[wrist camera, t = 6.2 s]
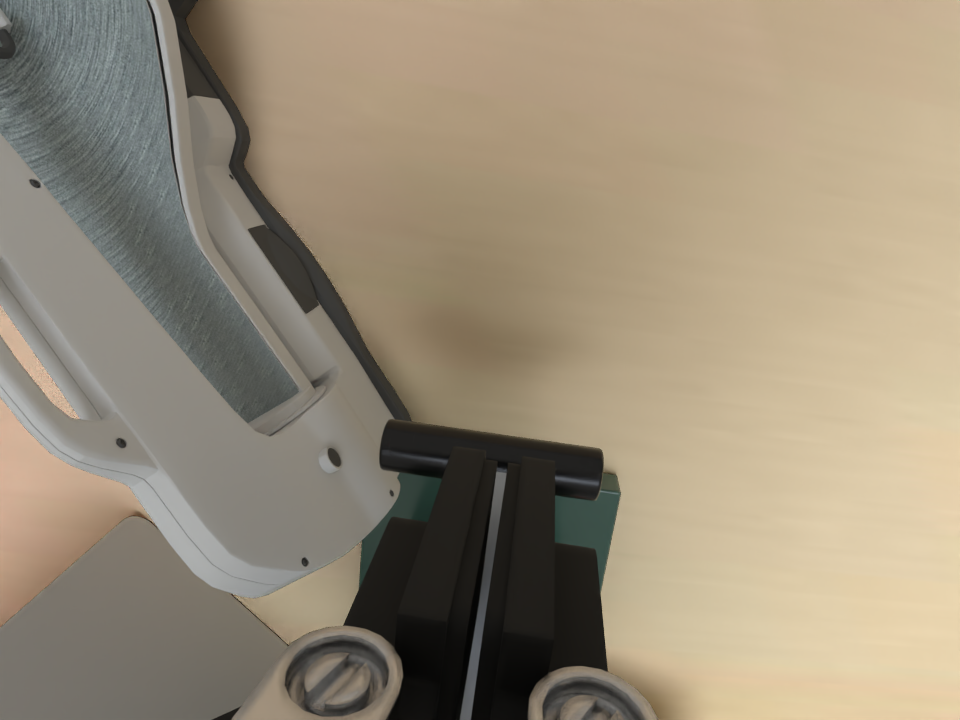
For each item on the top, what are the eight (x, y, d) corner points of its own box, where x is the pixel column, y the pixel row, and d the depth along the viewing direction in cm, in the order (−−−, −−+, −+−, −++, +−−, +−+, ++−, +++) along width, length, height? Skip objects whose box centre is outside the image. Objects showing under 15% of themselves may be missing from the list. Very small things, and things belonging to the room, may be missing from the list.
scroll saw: (517, 590, 11) (39, 805, 13) (531, 376, 21) (255, 524, 23) (-530, -950, 6) (-918, -163, 9) (130, -277, 16) (-150, -1, 19)
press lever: (396, 429, 16) (381, 407, 14) (593, 457, 16) (611, 439, 14) (296, 958, 13) (256, 1039, 11) (542, 1005, 13) (552, 1100, 11)
